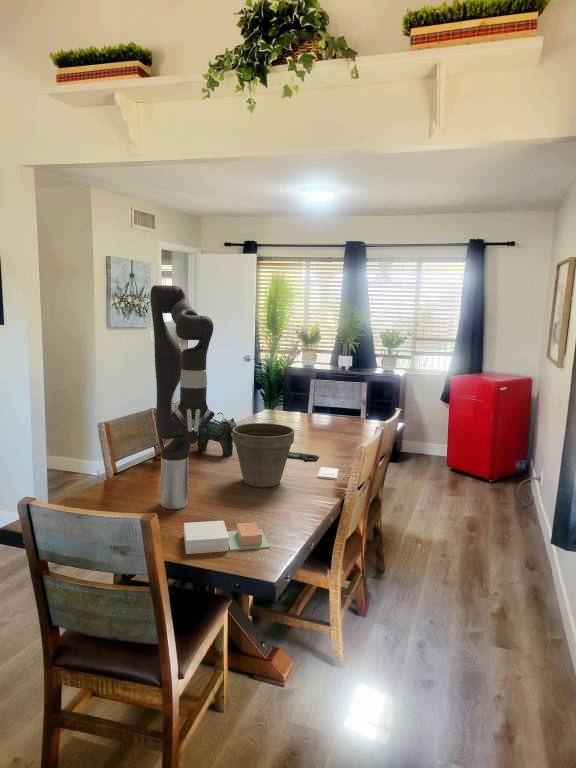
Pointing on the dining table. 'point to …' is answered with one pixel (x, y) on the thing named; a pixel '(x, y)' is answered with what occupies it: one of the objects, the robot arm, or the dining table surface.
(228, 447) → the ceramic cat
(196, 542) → the block
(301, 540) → the dining table surface
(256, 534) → the terracotta tile
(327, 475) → the external hard drive
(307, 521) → the dining table surface
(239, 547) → the green mat
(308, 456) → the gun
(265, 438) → the plant pot
